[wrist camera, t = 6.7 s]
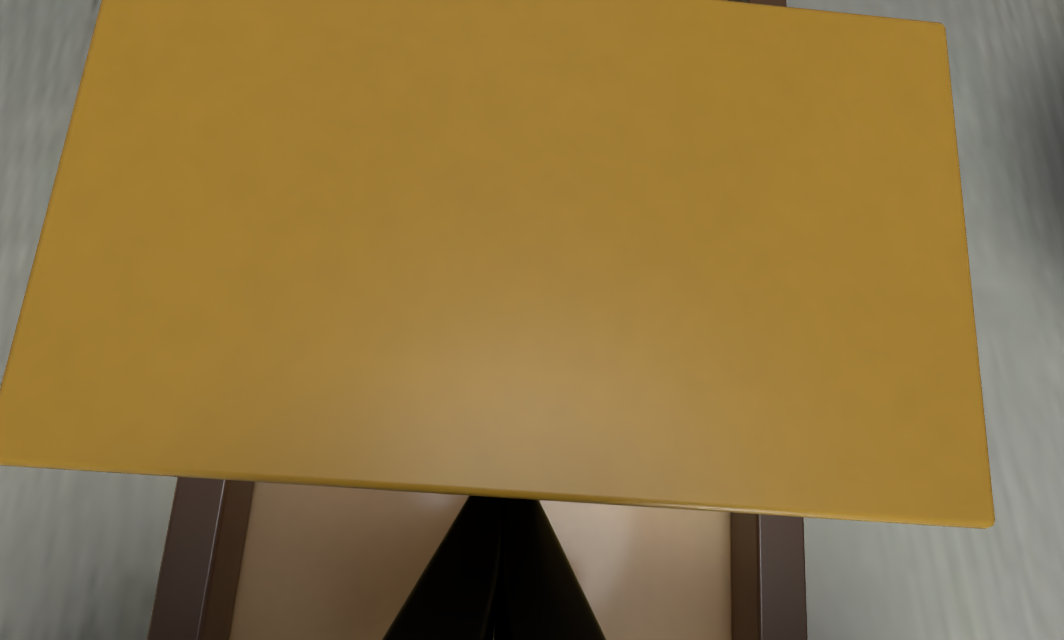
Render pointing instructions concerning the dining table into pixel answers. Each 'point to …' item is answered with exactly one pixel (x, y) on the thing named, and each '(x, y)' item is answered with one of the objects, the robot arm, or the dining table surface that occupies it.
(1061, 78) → the dining table surface
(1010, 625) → the dining table surface
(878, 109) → the ochre block
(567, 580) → the robot arm
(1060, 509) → the dining table surface
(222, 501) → the maple track
